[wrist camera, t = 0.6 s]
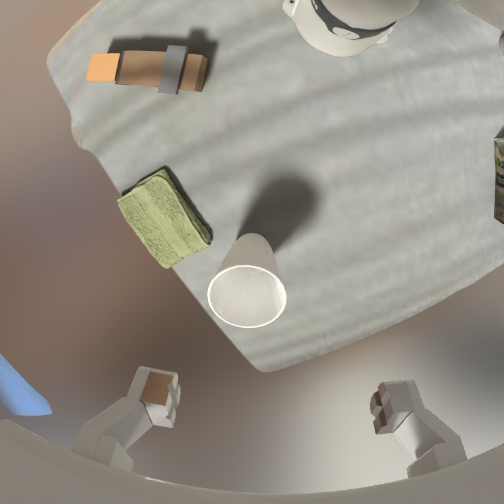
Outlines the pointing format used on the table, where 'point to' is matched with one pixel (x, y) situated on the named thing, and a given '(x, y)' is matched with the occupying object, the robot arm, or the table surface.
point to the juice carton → (499, 180)
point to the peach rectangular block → (103, 67)
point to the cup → (248, 284)
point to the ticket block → (163, 69)
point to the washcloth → (163, 220)
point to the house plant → (501, 44)
